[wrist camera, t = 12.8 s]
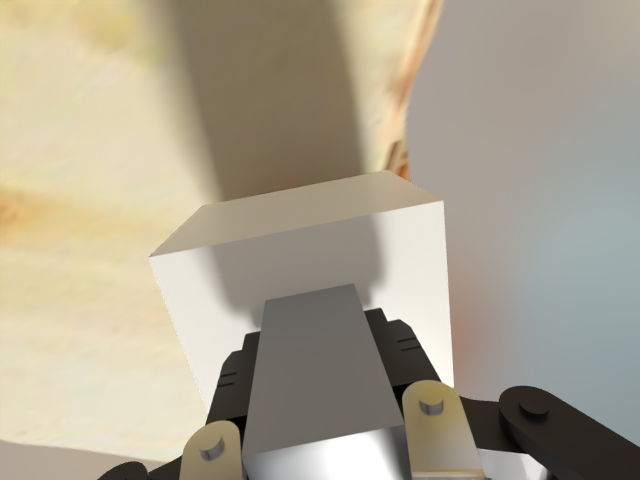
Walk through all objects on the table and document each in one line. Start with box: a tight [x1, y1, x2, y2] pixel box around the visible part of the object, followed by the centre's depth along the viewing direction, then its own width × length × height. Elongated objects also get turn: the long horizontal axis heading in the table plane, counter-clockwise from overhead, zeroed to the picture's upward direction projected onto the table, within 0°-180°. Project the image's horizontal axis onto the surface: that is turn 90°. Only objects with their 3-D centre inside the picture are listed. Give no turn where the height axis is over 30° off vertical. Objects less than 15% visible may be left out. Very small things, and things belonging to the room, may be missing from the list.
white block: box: [148, 170, 454, 480], centre depth 13 cm, size 8×10×13 cm
